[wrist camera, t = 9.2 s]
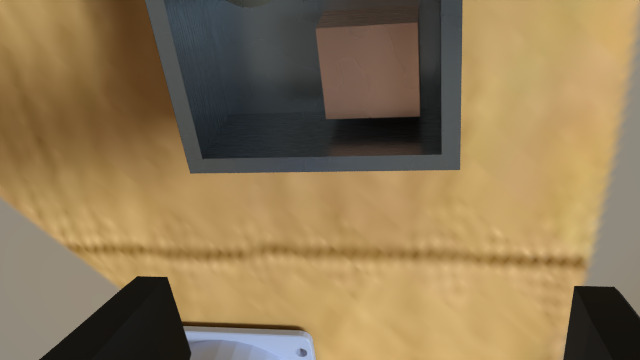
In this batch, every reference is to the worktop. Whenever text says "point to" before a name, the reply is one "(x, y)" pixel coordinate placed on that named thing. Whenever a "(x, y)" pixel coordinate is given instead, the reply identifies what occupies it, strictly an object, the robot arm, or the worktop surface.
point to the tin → (313, 83)
